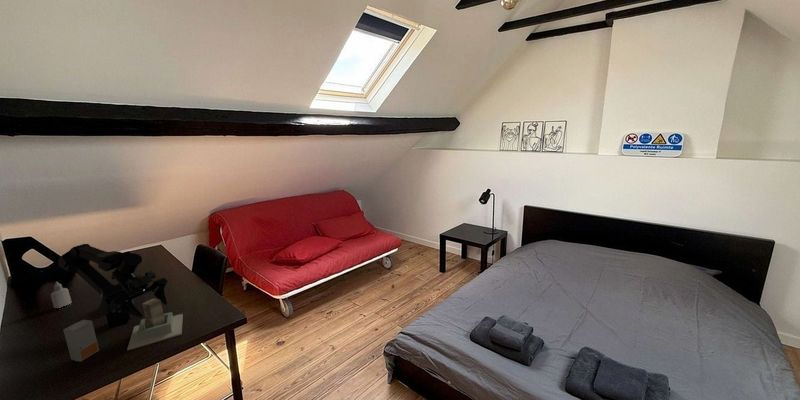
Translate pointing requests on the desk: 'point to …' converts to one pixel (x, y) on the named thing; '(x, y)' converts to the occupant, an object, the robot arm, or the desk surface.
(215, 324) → the desk surface
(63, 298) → the eye dropper bottle
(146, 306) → the ash peg
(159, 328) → the socket board
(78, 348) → the skincare box
